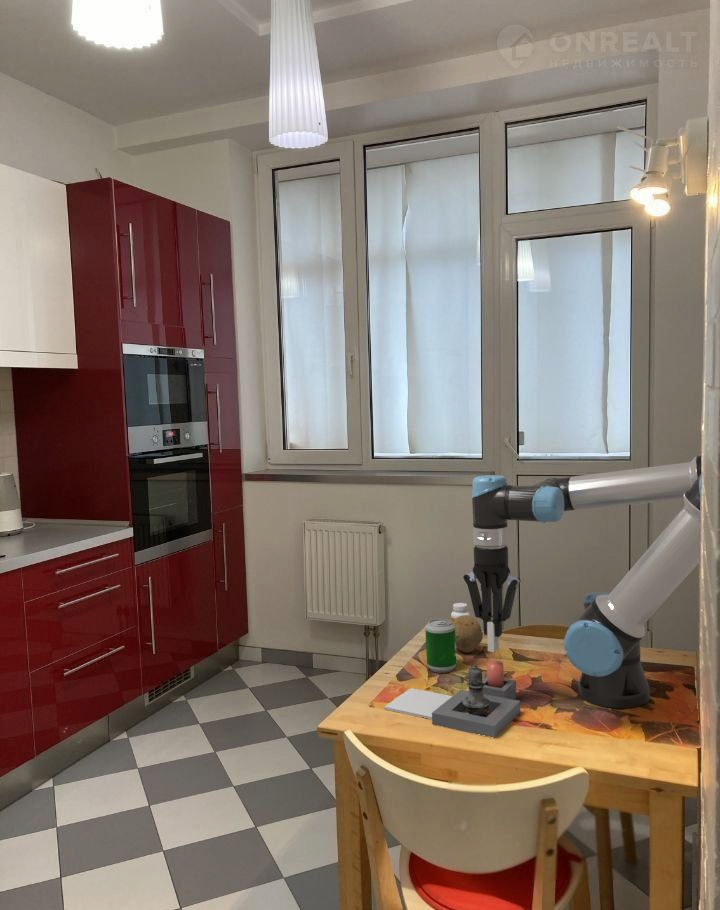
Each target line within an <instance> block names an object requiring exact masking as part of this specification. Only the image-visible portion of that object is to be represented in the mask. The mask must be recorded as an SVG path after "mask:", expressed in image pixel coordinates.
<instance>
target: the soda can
mask: <svg viewBox="0 0 720 910" xmlns="http://www.w3.org/2000/svg"><path fill="white" fill-rule="evenodd" d="M424 627H425V628H424V630H425V649H426V650H425V652H426V653H425V655H426V666H427V667H428V669H430V671H431V672H434V673H438V674H446V673H447V674H448V673H450V672H453V670H455V668H456V667H457V646H456V636H455V625H454V624H453V623H452V622H451V619H450V620H449V619H445V618H435V619H432V620H429V621H428V622H427V623H426V625H425V626H424Z"/></svg>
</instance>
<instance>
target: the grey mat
mask: <svg viewBox="0 0 720 910" xmlns="http://www.w3.org/2000/svg"><path fill="white" fill-rule="evenodd" d="M452 696H453V695H447V694H442V693H437V692H432V691H429V690H424V689H423V690H422V689H418V688H417V689H416V688H414V687H411V688H409V689H408V690H406V691H405V692H403V693H401V695H399V696H397V697H395V698H394V699H393V700H392V701H390V702H389V703H387V704H386V705H385V706H384V707H383V709H384V710H386V711H389V712H390V711H391V712H394V713H400V714H404V715H409V716H412V715H413V716H414V717H417V716H420V717H419V718H422V717H424V718H423V719H426V718H428V719H427V720H431V721H432V712H433V711H435V710H436V709H437V708H438V707H440V706H441V705H442V704H444V703H445V702H446V701H447V700H449V699H450V698H451V697H452Z"/></svg>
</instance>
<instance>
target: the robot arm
mask: <svg viewBox="0 0 720 910" xmlns="http://www.w3.org/2000/svg"><path fill="white" fill-rule="evenodd" d="M701 456H702V455H699V456H698V455H697V456H694V458H693V459H692V460H691V461H688V462H681V463H671V464H664V465H655V466H649V467H648V466H646V467H641V468H639V467H638V468H633V469H631V468H630V469H623V470H617V471H616V470H615V471H608V472H607V471H606V472H600V473H593V474H590V473H589V474H583V475H575V476H570V477H569V476H567V477H549V478H546V479H544V480H543V481H541V482H539V483H537V482H536V484H532V485H511V484H508V482H507V477H505V476H503V475H498V474H497V475H496V474H493V475H492V474H486V475H479V476H476V477H474V478H473V480H472V490H471V501H472V506H471V507H472V526H473V527H472V529H473V531H472V533H473V534H472V535H473V544H474V547H473V562H474V565H473V568H472V571H470V572H468V573H466V574H464V575H463V576H462V577H463V580H464V582H465V583H466V585H467V589H468V593H469V596H470V601H471V606H472V609H473V613H474V617H475V618H479V619H481V620H482V621H483V635H484V636H487V637H486V638H487V652H491V653H495V652H496V651H498V650H499V649H500V646H499V643H500V640H499V637H501V636H502V634H503V622H507V620H509V619H511V618H510V617H511V616H512V611H513V606H514V601H515V595H516V592H517V588H518V587H519V585H520V583H521V578H519V577H515V576H514V575H513V574H511V570H510V567H509V547H508V546H507V545H508V543H509V535H508V533H509V532H508V525H509V524H508V521H522V522H523V521H525V522H537V523H538V522H540V523H544V524H545V523H557V522H560V520H561V519H562V518H563V516H564V512H570V511H578V510H588V509H596V508H597V509H598V508H599V509H600V508H606V507H607V508H608V507H618V506H628V505H630V506H631V505H641V504H651V503H660V502H672V501H682V500H683V502H684V504H683V505H684V506H683V507H682V508H681V510H680V511H679V512H678V514H677V515H676V516H675V517H674V518H673V519H672V520H671V521H670V522H669V524H668V525H667V527H665V528H664V530H663V531H662V532H661V533H660V534H659V535H658V537H657V538H656V539H655V540H654V541H653V543H651V545H650V546H649V547H648V548H647V550H646V551H645V552H644V553H643V554H642V555H641V557H640V558H639V559H638V560H637V561H636V563H634V565H633V566H632V567H631V568H630V570H629V571H628V572H627V573H626V574H625V575H624V577H622V579H621V580H620V582H619V583H617V585H615V587H614V588H613V589H612V590H611V591H592V592H588V593H586V594H585V595H584V599H583V607H584V608H583V610H584V611H583V612H582V614H581V615H580V616H579V617H578V618H577V620H576V621H575V622H574V623H573V622H572V624H571V625H569V627H568V629H566V630H567V631H566V633H565V635H564V639H563V646H564V647H563V648H564V651H565V655H566V657H567V659H568V660H569V662H570V663H571V664H572V665H573V666H574V667H575V668H576V669H577V670H578V671H580V672H581V673H580V676H579V680H578V695H579V696H580V697H581V698H582V699H583V700H584V701H586V702H589V703H591V704H594V705H597V706H601V707H605V708H606V707H607V708H615V709H629V708H630V709H631V708H636V707H641V706H643V705H646V704H647V703H649V701H650V699H651V695H650V693H651V692H650V691H651V690H650V685H649V682H648V680H647V677H646V674H645V671H644V669H643V666H642V662H641V640H642V639H643V638H644V637H645V636H646V629H645V624H646V623H647V621H648V620H649V619H650V618H651V617H652V616H653V615H654V614H655V613H656V611H657V610H659V608H660V607H661V606H662V605H663V604H664V602H665V601H666V600H667V599H668V598H669V597H670V596H671V595H672V594H673V593H674V591H675V590H676V589H678V587H679V585H681V584H682V582H683V581H684V580H685V579H686V578H687V577H688V576H689V574H691V573H692V571H694V569H695V568H696V567H697V565H699V564H700V562H699V532H700V495H701ZM477 581H478V582H479V584H480V589H479V586H478V582H477ZM506 581H507V582H506ZM505 582H506V583H507V585H508V586H507V589H506V592H505V598H504V601H503V588H504V587H503V586H504V584H505ZM480 591H481V595H480Z"/></svg>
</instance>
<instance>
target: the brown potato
mask: <svg viewBox="0 0 720 910" xmlns="http://www.w3.org/2000/svg"><path fill="white" fill-rule="evenodd" d="M453 624H454V625H455V636H456V648H458V649H459V650H460V651H462V652H463V653H466V654H468V653H472V652H473V651H474V650H475V649H476V648H477V647H478V646H479V645H480V644H481V643H482V641H483V638H484V636H483V635H484V632H483V631H482V628H481V625H480V623H479V622H478V620H477V619H475V618H474V617H472V616H471V615H470V616H467V615H462V616H459V617H457V618H456V619H455V620H454V621H453Z"/></svg>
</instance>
